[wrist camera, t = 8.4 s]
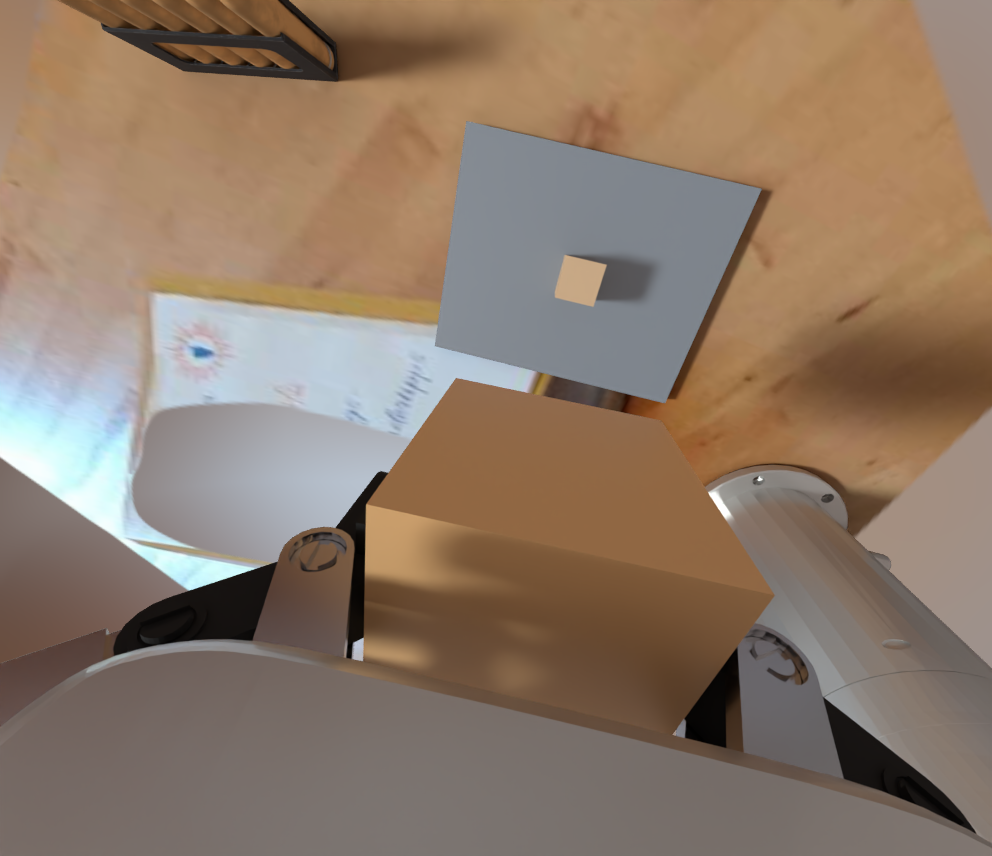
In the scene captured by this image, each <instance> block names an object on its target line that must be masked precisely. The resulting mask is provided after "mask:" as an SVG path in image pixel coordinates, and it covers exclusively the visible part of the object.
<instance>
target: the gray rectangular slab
mask: <svg viewBox="0 0 992 856" xmlns="http://www.w3.org/2000/svg"><path fill="white" fill-rule="evenodd" d="M761 190H762V189H760V188H756V187H752V186H747V185H743V184H739V183H734V182H730V181H726V180H721V179H717V178H712V177H708V176H704V175H699V174H695V173H691V172H686V171H682V170H678V169H673V168H669V167H664V166H660V165H656V164H651V163H647V162H643V161H638V160H634V159H630V158H625V157H621V156H617V155H612V154H608V153H603V152H599V151H595V150H590V149H586V148H582V147H577V146H573V145H569V144H564V143H560V142H555V141H551V140H547V139H542V138H538V137H534V136H529V135H525V134H521V133H516V132H512V131H508V130H503V129H499V128H494V127H490V126H486V125H481V124H477V123H473V122H468V121H466V128H465V135H464V142H463V149H462V156H461V164H460V171H459V178H458V185H457V192H456V199H455V206H454V214H453V221H452V228H451V235H450V242H449V249H448V256H447V264H446V271H445V278H444V285H443V292H442V299H441V306H440V314H439V321H438V328H437V335H436V342H435V346H437V347H441V348H445V349H449V350H453V351H457V352H461V353H465V354H469V355H473V356H477V357H481V358H485V359H489V360H493V361H497V362H501V363H505V364H509V365H513V366H517V367H521V368H525V369H529V370H533V371H537V372H541V373H545V374H549V375H553V376H557V377H561V378H565V379H569V380H573V381H578V382H582V383H586V384H590V385H594V386H598V387H602V388H606V389H610V390H614V391H618V392H622V393H626V394H630V395H634V396H638V397H642V398H646V399H650V400H654V401H658V402H662V403H665V402H666V400H667V398H668V395H669V393H670V391H671V389H672V387H673V384H674V382H675V380H676V378H677V376H678V373H679V371H680V369H681V367H682V364H683V362H684V360H685V358H686V356H687V353H688V351H689V349H690V347H691V345H692V342H693V340H694V338H695V336H696V334H697V331H698V329H699V327H700V325H701V322H702V320H703V318H704V316H705V314H706V311H707V309H708V307H709V305H710V303H711V300H712V298H713V296H714V294H715V292H716V289H717V287H718V285H719V283H720V280H721V278H722V276H723V274H724V272H725V269H726V267H727V265H728V263H729V261H730V258H731V256H732V254H733V252H734V250H735V247H736V245H737V243H738V241H739V238H740V236H741V234H742V232H743V230H744V227H745V225H746V223H747V221H748V219H749V216H750V214H751V212H752V210H753V208H754V205H755V203H756V201H757V199H758V196H759V194H760V192H761Z"/></svg>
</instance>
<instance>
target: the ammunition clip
mask: <svg viewBox="0 0 992 856" xmlns="http://www.w3.org/2000/svg"><path fill="white" fill-rule="evenodd" d="M58 1H60V2H62V3H64V4H66V5H68V6H70V7H72V8H73V9H75V10H77V11H79V12H81V13H83V14H85V15H87V16H89V17H91V18H93V19H95V20H97V21H99V22H101V25H102V29H103V30H104V31H106V32H108V33H110V34H112V35H114V36H116V37H118V38H120V39H122V40H124V41H126V42H128V43H130V44H132V45H134V46H136V47H138V48H140V49H142V50H144V51H145V52H147V53H149V54H151V55H153V56H155V57H157V58H159V59H161V60H163V61H165V62H167V63H169V64H171V65H173V66H175V67H177V68H179V69H181V70H183V71H187V72H202V73H216V74H231V75H246V76H260V77H275V78H290V79H304V80H319V81H334V82H336V81H337V80H338V68H337V54H336V43H335V42H334V41H333V40H332V39H331V38H330V37H329V36H327V35H326V34H325V33H324V32H323V31H322V30H321V29H320V28H319V27H318V26H316V25H315V24H314V23H313V22H312V21H311V20H310V19H309V18H308V17H307V16H305V15H304V14H303V13H302V12H301V11H300V10H299V9H298V8H297V7H296V6H294V5H293V4H292V3H291V2H290V1H289V0H58Z"/></svg>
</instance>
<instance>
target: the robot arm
mask: <svg viewBox="0 0 992 856" xmlns="http://www.w3.org/2000/svg"><path fill="white" fill-rule="evenodd" d="M387 474H388V473H386V472H382V471H381V472H378V473H377V474H376V475H375V477H374V478H373V479H372V481H371V482H370V483H369V485H368V486H367V487H366V489H365V490H364V491H363V492H362V494H361V495H360V496H359V498H358V499H357V500H356V502H355V503H354V504H353V505H352V507H351V508H350V509H349V511H348V512H347V513H346V515H345V516H344V517H343V519H342V520H341V521H340V523H339V524H338V525H337V526H336V528H331V527H320V528H313V529H310V530H307V531H304V532H301V533H299V534H298V535H296V536H294V537H293V538H292V539H290V540H289V541H288V542H287V543H286V544H285V546H284V547H283V549H282V551H281V553H280V556H279V559H278V562H275V563H272V564H269V565H266V566H263V567H260V568H257V569H254V570H251V571H248V572H245V573H242V574H239V575H236V576H233V577H230V578H227V579H224V580H221V581H218V582H215V583H211V584H208V585H205V586H202V587H199V588H196V589H193V590H190V591H187V592H185V593H181V594H178V595H175V596H172V597H169V598H167V599H164V600H162V601H159V602H157V603H155V604H152V605H151V606H149V607H147V608H146V609H144V610H143V611H141V612H139V613H138V614H137V615H136V616H135V617H133V618H132V619H131V620H130V621H129V622H128V623H127V624H125V626H124V627H123V629H122V630H119V631H116V632H113V633H111V634H109V632H108V630H107V628H105V629H102V630H99V631H96V632H93V633H90V634H87V635H84V636H81V637H78V638H75V639H72V640H69V641H66V642H63V643H60V644H57V645H54V646H51V647H48V648H45V649H42V650H39V651H36V652H33V653H30V654H27V655H24V656H21V657H18V658H15V659H12V660H9V661H6V662H3V663H0V856H992V668H991V667H990V666H989V665H988V664H987V663H986V662H984V661H983V660H982V659H981V658H980V657H979V656H978V655H977V654H976V653H975V652H974V651H973V650H972V649H971V648H969V646H968V645H966V643H964V642H963V641H962V640H961V639H960V638H959V637H958V636H957V635H956V634H955V633H954V632H953V631H952V630H951V629H950V628H949V627H947V626H946V625H945V624H944V623H943V622H942V621H941V620H940V619H939V618H938V617H937V616H936V615H935V614H934V613H933V612H932V611H931V610H930V609H929V608H928V607H927V606H925V605H924V604H923V603H922V602H921V601H920V600H919V599H918V598H917V597H916V596H915V595H914V594H913V593H911V591H910V590H908V589H907V588H906V587H905V586H904V585H903V584H902V583H901V582H900V581H899V580H898V579H897V578H896V577H895V576H894V575H893V574H892V573H891V572H890V571H889V569H890V568H891V561H890V559H889V558H888V557H887V556H885V555H882V554H879V553H875V552H871V551H868V550H866V549H865V548H864V547H863V546H862V545H861V544H860V543H859V542H858V541H857V540H856V539H855V538H854V537H853V536H852V535H851V534H850V533H849V532H847V531H846V530H847V526H848V514H847V510H846V505H845V503H844V502H843V500H842V498H841V496H840V495H839V494H838V493H837V492H836V491H835V490H834V489H833V488H832V487H831V486H830V485H829V484H828V483H826V482H825V481H824V480H822V479H821V478H820V477H818V476H817V475H815V474H813V473H810V472H808V471H806V470H803V469H799V468H795V467H791V466H783V465H762V466H754V467H749V468H744V469H740V470H737V471H735V472H732V473H729V474H726V475H724V476H722V477H720V478H718V479H717V480H715V481H713V482H711V483H710V484H708V485H707V486H706V487H705V489H706V490H707V492H708V493H709V495H710V496H711V498H712V499H713V501H714V503H715V504H716V506H717V507H718V509H719V510H720V512H721V513H722V515H723V516H724V518H725V519H726V521H727V522H728V524H729V526H730V527H731V529H732V530H733V532H734V533H735V535H736V536H737V538H738V539H739V541H740V542H741V544H742V545H743V547H744V549H745V550H746V552H747V553H748V555H749V556H750V558H751V559H752V561H753V562H754V564H755V565H756V567H757V569H758V570H759V572H760V573H761V575H762V576H763V578H764V579H765V581H766V582H767V584H768V585H769V587H770V588H771V590H772V592H773V593H774V595H775V596H774V598H773V599H772V600H771V602H770V603H769V604H768V606H767V607H766V608H765V610H764V611H763V612H762V614H761V615H760V617H759V618H758V619H757V621H756V622H755V623H754V625H753V626H752V627H751V629H750V630H749V631H748V633H747V634H746V635H745V637H744V638H743V640H742V641H741V642H740V644H739V645H738V646H737V648H736V649H735V650H734V652H733V653H732V654H731V656H730V657H729V659H728V660H727V661H726V663H725V664H724V665H723V667H722V668H721V669H720V671H719V672H718V673H717V675H716V676H715V678H714V679H713V680H712V682H711V683H710V684H709V686H708V687H707V688H706V690H705V691H704V692H703V694H702V695H701V696H700V698H699V699H698V701H697V702H696V703H695V705H694V706H693V707H692V709H691V710H690V711H689V713H688V714H687V715H686V717H685V718H684V720H683V721H682V722H681V724H680V725H679V726H678V728H677V729H676V736H674V735H670V734H666V733H662V732H658V731H654V730H650V729H646V728H642V727H638V726H634V725H630V724H625V723H621V722H617V721H613V720H609V719H605V718H601V717H596V716H592V715H588V714H584V713H580V712H576V711H571V710H567V709H563V708H559V707H555V706H551V705H546V704H542V703H538V702H534V701H530V700H525V699H521V698H517V697H513V696H509V695H504V694H500V693H496V692H492V691H488V690H483V689H479V688H475V687H471V686H466V685H462V684H458V683H453V682H449V681H445V680H441V679H436V678H432V677H428V676H423V675H419V674H415V673H411V672H406V671H402V670H398V669H393V668H389V667H385V666H381V665H376V664H372V663H367V662H363V661H358V660H353V654H354V642H356V641H358V640H360V639H362V638H364V596H365V540H366V504H367V502H368V501H369V500H370V498H371V497H372V495H373V494H374V493H375V491H376V490H377V488H378V487H379V486H380V484H381V483H382V481H383V480H384V479H385V477H386V476H387Z"/></svg>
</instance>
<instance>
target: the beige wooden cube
mask: <svg viewBox="0 0 992 856" xmlns="http://www.w3.org/2000/svg"><path fill="white" fill-rule="evenodd" d="M774 596H775V595H774V593H773V592H772V590H771V588H770V587H769V585H768V584H767V582H766V581H765V579H764V578H763V576H762V575H761V573H760V572H759V570H758V569H757V567H756V565H755V564H754V562H753V561H752V559H751V558H750V556H749V555H748V553H747V552H746V550H745V549H744V547H743V545H742V544H741V542H740V541H739V539H738V538H737V536H736V535H735V533H734V532H733V530H732V529H731V527H730V526H729V524H728V522H727V521H726V519H725V518H724V516H723V515H722V513H721V512H720V510H719V509H718V507H717V506H716V504H715V503H714V501H713V499H712V498H711V496H710V495H709V493H708V492H707V490H706V489H705V487H704V486H703V484H702V483H701V481H700V479H699V478H698V476H697V475H696V473H695V472H694V470H693V469H692V467H691V466H690V464H689V463H688V461H687V460H686V458H685V456H684V455H683V453H682V452H681V450H680V449H679V447H678V446H677V444H676V443H675V441H674V440H673V438H672V436H671V435H670V433H669V432H668V430H667V429H666V427H665V426H664V424H663V423H662V421H660V420H655V419H651V418H646V417H641V416H636V415H631V414H627V413H622V412H617V411H612V410H607V409H602V408H598V407H593V406H588V405H583V404H578V403H574V402H569V401H564V400H559V399H554V398H549V397H545V396H540V395H535V394H530V393H525V392H521V391H516V390H511V389H506V388H501V387H496V386H492V385H487V384H482V383H477V382H472V381H468V380H463V379H458V378H456V379H455V380H454V382H453V383H452V385H451V386H450V387H449V389H448V390H447V392H446V393H445V394H444V396H443V397H442V399H441V400H440V401H439V403H438V404H437V406H436V407H435V408H434V410H433V411H432V413H431V414H430V415H429V417H428V418H427V420H426V421H425V422H424V424H423V425H422V427H421V428H420V429H419V431H418V432H417V434H416V435H415V436H414V438H413V439H412V441H411V442H410V444H409V445H408V446H407V448H406V449H405V451H404V452H403V453H402V455H401V456H400V458H399V459H398V460H397V462H396V463H395V465H394V466H393V467H392V469H391V470H390V472H389V473H388V474H387V476H386V477H385V479H384V480H383V481H382V483H381V484H380V486H379V487H378V488H377V490H376V491H375V493H374V494H373V495H372V497H371V498H370V500H369V501H368V502H367V504H366V540H365V596H364V653H363V662H367V663H372V664H376V665H381V666H385V667H389V668H393V669H398V670H402V671H406V672H411V673H415V674H419V675H423V676H428V677H432V678H436V679H441V680H445V681H449V682H453V683H458V684H462V685H466V686H471V687H475V688H479V689H483V690H488V691H492V692H496V693H500V694H504V695H509V696H513V697H517V698H521V699H525V700H530V701H534V702H538V703H542V704H546V705H551V706H555V707H559V708H563V709H567V710H571V711H576V712H580V713H584V714H588V715H592V716H596V717H601V718H605V719H609V720H613V721H617V722H621V723H625V724H630V725H634V726H638V727H642V728H646V729H650V730H654V731H658V732H662V733H666V734H670V735H672V734H673V733H674V732H675V730H676V729H677V728H678V726H679V725H680V724H681V722H682V721H683V720H684V718H685V717H686V715H687V714H688V713H689V711H690V710H691V709H692V707H693V706H694V705H695V703H696V702H697V701H698V699H699V698H700V696H701V695H702V694H703V692H704V691H705V690H706V688H707V687H708V686H709V684H710V683H711V682H712V680H713V679H714V678H715V676H716V675H717V673H718V672H719V671H720V669H721V668H722V667H723V665H724V664H725V663H726V661H727V660H728V659H729V657H730V656H731V654H732V653H733V652H734V650H735V649H736V648H737V646H738V645H739V644H740V642H741V641H742V640H743V638H744V637H745V635H746V634H747V633H748V631H749V630H750V629H751V627H752V626H753V625H754V623H755V622H756V621H757V619H758V618H759V617H760V615H761V614H762V612H763V611H764V610H765V608H766V607H767V606H768V604H769V603H770V602H771V600H772V599H773V598H774Z"/></svg>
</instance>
